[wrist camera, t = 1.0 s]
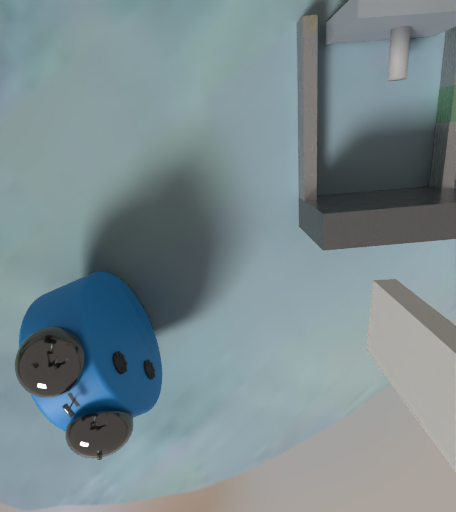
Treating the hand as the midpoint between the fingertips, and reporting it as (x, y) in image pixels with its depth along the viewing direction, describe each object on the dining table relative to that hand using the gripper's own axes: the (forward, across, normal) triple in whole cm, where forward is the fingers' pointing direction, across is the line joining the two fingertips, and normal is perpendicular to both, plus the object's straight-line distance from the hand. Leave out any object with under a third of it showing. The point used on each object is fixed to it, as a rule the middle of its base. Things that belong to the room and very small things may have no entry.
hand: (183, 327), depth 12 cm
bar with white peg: (+24, +18, +12) cm, 32 cm away
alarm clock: (+24, -10, -12) cm, 29 cm away
